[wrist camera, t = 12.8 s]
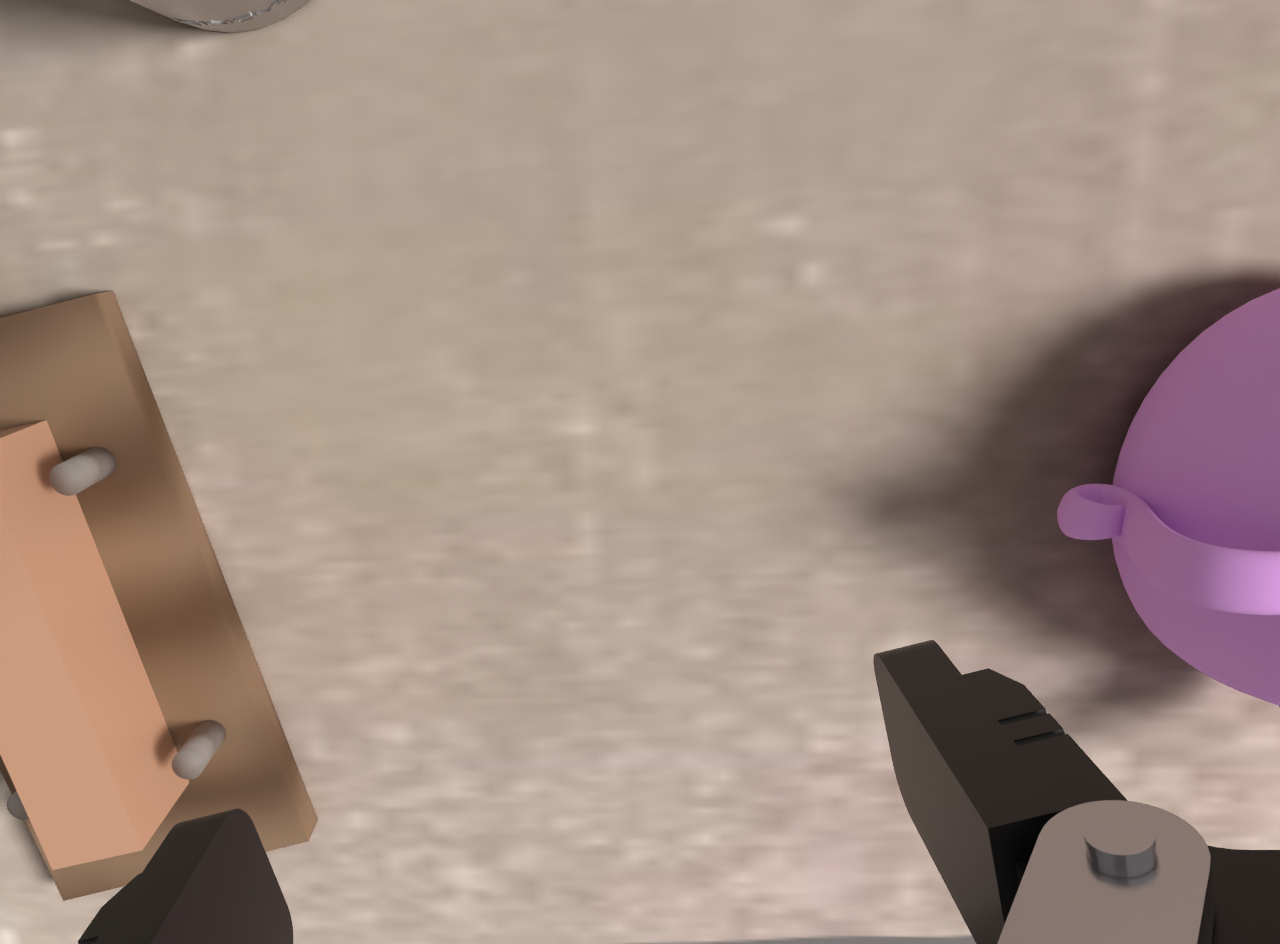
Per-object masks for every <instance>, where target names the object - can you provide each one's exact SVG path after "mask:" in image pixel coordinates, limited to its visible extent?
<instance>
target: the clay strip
mask: <svg viewBox="0 0 1280 944" xmlns="http://www.w3.org/2000/svg"><path fill="white" fill-rule="evenodd" d="M62 462H63V461H62V458H61V456H60V453H59V451H58V448H57V446H56V443H55V441H54V438H53V436H52V433H51V430H50V428H49V425H48V423H47V420H44V421H39V422H35V423H31V424H26V425H22V426H17V427H13V428H9V429H4V430H0V755H1V757H2V759H3V762H4V764H5V766H6V768H7V771H8V773H9V775H10V777H11V779H12V782H13V784H14V786H15V788H16V791H17V793H18V795H19V797H20V799H21V802H22V804H23V806H24V808H25V810H26V813H27V815H28V817H29V819H30V822H31V824H32V826H33V828H34V830H35V833H36V835H37V837H38V839H39V842H40V844H41V846H42V848H43V850H44V853H45V855H46V857H47V859H48V862H49V864H50V866H51V868H52V870H56V869H60V868H65V867H69V866H74V865H78V864H83V863H87V862H92V861H96V860H101V859H105V858H110V857H114V856H119V855H123V854H128V853H133V852H137V851H142V850H143V849H144V847H145V846H146V844H147V843H148V842H149V840H150V839H151V837H152V836H153V834H154V833H155V831H156V830H157V829H158V827H159V826H160V824H161V823H162V821H163V820H164V818H165V817H166V816H167V814H168V813H169V811H170V810H171V808H172V807H173V805H174V804H175V803H176V801H177V800H178V798H179V797H180V795H181V794H182V792H183V791H184V790H185V788H186V787H187V785H188V784H189V780H188V779H183V778H180V777H179V776H177V775H176V774H175V773H174V771H173V769H172V760H173V758H174V757H175V756H176V754H177V753H178V752H177V750H176V747H175V745H174V742H173V740H172V737H171V735H170V732H169V730H168V727H167V724H166V722H165V719H164V717H163V714H162V712H161V709H160V707H159V704H158V702H157V699H156V697H155V694H154V691H153V689H152V686H151V684H150V681H149V679H148V676H147V674H146V671H145V669H144V666H143V664H142V661H141V659H140V656H139V653H138V651H137V648H136V646H135V643H134V641H133V638H132V636H131V633H130V631H129V628H128V626H127V623H126V621H125V618H124V615H123V613H122V610H121V608H120V605H119V603H118V600H117V598H116V595H115V593H114V590H113V588H112V585H111V583H110V580H109V577H108V575H107V572H106V570H105V567H104V565H103V562H102V560H101V557H100V555H99V552H98V550H97V547H96V544H95V542H94V539H93V537H92V534H91V532H90V529H89V527H88V524H87V522H86V519H85V517H84V514H83V512H82V509H81V506H80V504H79V501H78V499H77V496H76V494H75V495H72V496H66V495H62V494H60V493H58V492H57V491H55V490H54V489H53V487H52V486H51V484H50V481H49V474H50V471H51V470H52V468H53V467H55V466H56V465H58V464H60V463H62Z"/></svg>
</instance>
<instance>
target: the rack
mask: <svg viewBox="0 0 1280 944" xmlns="http://www.w3.org/2000/svg"><path fill="white" fill-rule="evenodd" d="M44 420H47V423H48V425H49V428H50V430H51V433H52V436H53V438H54V441H55V443H56V446H57V448H58V451H59V453H60V456H61V458H62V461H63V462H62V463H60V464H58V465H56V466H55V467H53V468H52V470H51V471H50V474H49V481H50V484H51V486H52V487H53V489H54V490H55V491H57V492H58V493H60V494H62V495H66V496H72V495H75V494H76V496H77V499H78V501H79V504H80V506H81V509H82V512H83V514H84V517H85V519H86V522H87V524H88V527H89V529H90V532H91V534H92V537H93V539H94V542H95V544H96V547H97V550H98V552H99V555H100V557H101V560H102V562H103V565H104V567H105V570H106V572H107V575H108V577H109V580H110V583H111V585H112V588H113V590H114V593H115V595H116V598H117V600H118V603H119V605H120V608H121V610H122V613H123V615H124V618H125V621H126V623H127V626H128V628H129V631H130V633H131V636H132V638H133V641H134V643H135V646H136V648H137V651H138V653H139V656H140V659H141V661H142V664H143V666H144V669H145V671H146V674H147V676H148V679H149V681H150V684H151V686H152V689H153V691H154V694H155V697H156V699H157V702H158V704H159V707H160V709H161V712H162V714H163V717H164V719H165V722H166V724H167V727H168V730H169V732H170V735H171V737H172V740H173V742H174V745H175V747H176V750H177V752H178V753H177V754H176V756H175V757H174V758H173V760H172V769H173V771H174V773H175V774H176V775H177V776H179V777H180V778H183V779H188V780H189V784H188V785H187V787H186V788H185V790H184V791H183V792H182V794H181V795H180V797H179V798H178V800H177V801H176V803H175V804H174V805H173V807H172V808H171V810H170V811H169V813H168V814H167V816H166V817H165V818H164V820H163V821H162V823H161V824H160V826H159V827H158V829H157V830H156V831H155V833H154V834H153V836H152V837H151V839H150V840H149V842H148V843H147V844H146V846H145V847H144V849H143V850H142V851H137V852H133V853H128V854H123V855H119V856H114V857H110V858H105V859H101V860H96V861H92V862H87V863H83V864H78V865H74V866H69V867H65V868H60V869H56V870H52V868H51V866H50V864H49V862H48V859H47V857H46V855H45V853H44V850H43V848H42V846H41V844H40V842H39V839H38V837H37V835H36V833H35V830H34V828H33V826H32V824H31V822H30V819H29V817H28V815H27V813H26V810H25V808H24V806H23V804H22V802H21V799H20V797H19V795H18V793H17V791H16V788H15V786H14V784H13V782H12V779H11V777H10V775H9V773H8V771H7V768H6V766H5V764H4V762H3V759H2V757H1V755H0V770H1V772H2V774H3V776H4V778H5V780H6V782H7V784H8V787H9V789H10V791H11V793H12V796H11V797H10V798H9V799H8V801H7V808H8V810H9V812H10V813H11V814H12V815H13V816H14V817H16V818H18V819H22V820H25V822H26V824H27V826H28V828H29V830H30V832H31V834H32V836H33V838H34V840H35V843H36V845H37V847H38V849H39V851H40V853H41V855H42V857H43V859H44V861H45V863H46V865H47V867H48V869H49V872H50V874H51V876H52V878H53V880H54V882H55V884H56V886H57V888H58V890H59V892H60V894H61V896H62V899H63V901H65V900H69V899H73V898H77V897H81V896H85V895H89V894H93V893H97V892H102V891H106V890H110V889H114V888H118V887H122V886H126V885H127V884H128V883H129V882H130V881H131V880H132V879H133V878H135V877H136V876H137V875H138V874H140V873H142V872H143V870H144V869H145V867H146V866H147V864H148V863H149V861H150V860H151V858H152V857H153V855H154V854H155V852H156V851H157V850H158V848H159V847H160V845H161V844H162V842H163V841H164V839H165V838H166V836H167V835H168V833H169V832H170V830H171V829H172V828H173V826H175V825H176V824H177V823H180V822H183V821H188V820H192V819H196V818H200V817H204V816H208V815H212V814H216V813H220V812H224V811H228V810H233V809H241V810H243V811H245V812H246V813H247V814H248V815H249V816H250V818H251V819H252V821H253V823H254V825H255V828H256V830H257V833H258V835H259V837H260V840H261V842H262V845H263V847H264V850H265V852H266V851H270V850H274V849H278V848H282V847H286V846H290V845H295V844H299V843H303V842H307V841H309V839H310V836H311V834H312V832H313V830H314V827H315V825H316V823H317V821H318V819H317V817H316V814H315V812H314V809H313V806H312V804H311V801H310V799H309V796H308V794H307V791H306V788H305V786H304V783H303V781H302V778H301V775H300V773H299V770H298V768H297V765H296V763H295V760H294V757H293V755H292V752H291V750H290V747H289V745H288V742H287V739H286V737H285V734H284V732H283V729H282V726H281V724H280V721H279V719H278V716H277V714H276V711H275V708H274V706H273V703H272V701H271V698H270V695H269V693H268V690H267V688H266V685H265V683H264V680H263V677H262V675H261V672H260V670H259V667H258V664H257V662H256V659H255V657H254V654H253V652H252V649H251V646H250V644H249V641H248V639H247V636H246V634H245V631H244V628H243V626H242V623H241V621H240V618H239V615H238V613H237V610H236V608H235V605H234V603H233V600H232V597H231V595H230V592H229V590H228V587H227V584H226V582H225V579H224V577H223V574H222V572H221V569H220V566H219V564H218V561H217V559H216V556H215V553H214V551H213V548H212V546H211V543H210V541H209V538H208V535H207V533H206V530H205V528H204V525H203V523H202V520H201V517H200V515H199V512H198V510H197V507H196V504H195V502H194V499H193V497H192V494H191V492H190V489H189V486H188V484H187V481H186V479H185V476H184V473H183V471H182V468H181V466H180V463H179V461H178V458H177V455H176V453H175V450H174V448H173V445H172V443H171V440H170V437H169V435H168V432H167V430H166V427H165V424H164V422H163V419H162V417H161V414H160V412H159V409H158V406H157V404H156V401H155V399H154V396H153V393H152V391H151V388H150V386H149V383H148V381H147V378H146V375H145V373H144V370H143V368H142V365H141V362H140V360H139V357H138V355H137V352H136V350H135V347H134V344H133V342H132V339H131V337H130V334H129V332H128V329H127V326H126V324H125V321H124V319H123V316H122V313H121V311H120V308H119V306H118V303H117V301H116V298H115V295H114V293H113V291H108V292H102V293H97V294H92V295H88V296H84V297H80V298H76V299H73V300H69V301H65V302H61V303H57V304H53V305H49V306H45V307H41V308H37V309H33V310H29V311H26V312H22V313H18V314H14V315H10V316H6V317H2V318H0V430H4V429H9V428H13V427H17V426H22V425H26V424H31V423H35V422H39V421H44Z"/></svg>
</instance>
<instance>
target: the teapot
mask: <svg viewBox="0 0 1280 944" xmlns="http://www.w3.org/2000/svg"><path fill="white" fill-rule="evenodd" d="M1057 519H1058V523H1059V526H1060V529H1061V531H1062V532H1063V533H1064V534H1065V535H1066V536H1068V537H1071V538H1074V539H1080V540H1101V539H1109V538H1112V543H1113V550H1114V556H1115V560H1116V563H1117V566H1118V570H1119V573H1120V576H1121V579H1122V582H1123V585H1124V587H1125V590H1126V592H1127V594H1128V596H1129V598H1130V600H1131V602H1132V604H1133V606H1134V608H1135V610H1136V611H1137V613H1138V614H1139V616H1140V617H1141V619H1142V620H1143V621H1144V623H1145V624H1146V626H1147V627H1148V629H1149V630H1150V631H1151V632H1152V633H1153V634H1154V635H1155V636H1156V637H1157V638H1158V639H1159V640H1160V641H1161V642H1162V643H1163V644H1164V645H1165V646H1166V647H1167V648H1168V649H1170V650H1171V651H1172V652H1174V653H1175V654H1176V655H1177V656H1179V657H1180V658H1181V659H1183V660H1184V661H1186V662H1187V663H1188V664H1190V665H1191V666H1193V667H1194V668H1196V669H1197V670H1199V671H1200V672H1202V673H1204V674H1206V675H1208V676H1209V677H1211V678H1213V679H1215V680H1217V681H1219V682H1220V683H1223V684H1225V685H1227V686H1229V687H1231V688H1234V689H1236V690H1238V691H1240V692H1243V693H1246V694H1248V695H1251V696H1254V697H1256V698H1259V699H1262V700H1265V701H1267V702H1270V703H1273V704H1276V705H1279V707H1280V288H1279V289H1277V290H1274V291H1272V292H1269V293H1267V294H1265V295H1262V296H1260V297H1258V298H1255V299H1253V300H1251V301H1249V302H1248V303H1246V304H1244V305H1242V306H1241V307H1239V308H1237V309H1235V310H1234V311H1232V312H1230V313H1228V314H1227V315H1225V316H1224V317H1222V318H1221V319H1220V320H1218V321H1217V322H1216V323H1214V324H1213V325H1211V326H1210V327H1209V328H1207V329H1206V330H1205V331H1203V332H1202V333H1201V334H1200V335H1199V336H1198V337H1196V338H1195V339H1194V340H1193V341H1192V342H1191V343H1190V344H1189V345H1188V346H1187V347H1186V348H1185V349H1183V350H1182V351H1181V352H1180V353H1179V354H1178V356H1177V357H1176V358H1175V359H1174V360H1173V361H1172V362H1171V364H1170V365H1169V366H1168V367H1167V368H1166V369H1165V371H1164V372H1163V373H1162V374H1161V375H1160V377H1159V378H1158V380H1157V381H1156V382H1155V384H1154V385H1153V387H1152V388H1151V390H1150V391H1149V393H1148V394H1147V396H1146V397H1145V398H1144V400H1143V402H1142V404H1141V406H1140V408H1139V410H1138V411H1137V413H1136V415H1135V417H1134V419H1133V421H1132V423H1131V425H1130V427H1129V430H1128V433H1127V435H1126V438H1125V440H1124V443H1123V445H1122V448H1121V451H1120V455H1119V459H1118V463H1117V467H1116V471H1115V475H1114V479H1113V485H1109V484H1085V485H1080V486H1077V487H1074V488H1072V489H1070V490H1069V491H1068V492H1066V493H1065V495H1064V496H1063V498H1062V500H1061V502H1060V505H1059V507H1058V510H1057Z"/></svg>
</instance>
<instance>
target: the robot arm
mask: <svg viewBox="0 0 1280 944" xmlns="http://www.w3.org/2000/svg"><path fill="white" fill-rule="evenodd" d="M129 1H131V2H134V3H136V4H138V5H141V6H143V7H145V8H148V9H150V10H152V11H154V12H157V13H159V14H161V15H164V16H166V17H168V18H170V19H173V20H175V21H177V22H180V23H184V24H187V25H190V26H193V27H196V28H200V29H203V30H209V31H220V32H232V33H234V32H241V31H248V30H255V29H261V28H263V27H266V26H268V25H271V24H274V23H276V22H279V21H281V20H284V19H286V18H287V17H289V16H290V15H291V14H293V13H294V12H296V11H297V10H299V9H300V8H301V7H303V6H304V5H306V4H307V3H308V2H309V1H310V0H129ZM874 669H875V675H876V680H877V685H878V691H879V696H880V701H881V706H882V711H883V716H884V721H885V726H886V731H887V736H888V741H889V746H890V751H891V756H892V761H893V766H894V770H895V774H896V778H897V781H898V785H899V788H900V791H901V794H902V797H903V800H904V802H905V805H906V808H907V810H908V812H909V814H910V817H911V819H912V821H913V822H914V824H915V826H916V828H917V830H918V832H919V834H920V836H921V838H922V840H923V842H924V844H925V846H926V847H927V849H928V851H929V853H930V855H931V857H932V859H933V861H934V863H935V865H936V867H937V869H938V871H939V872H940V874H941V876H942V878H943V880H944V882H945V884H946V886H947V888H948V890H949V892H950V894H951V896H952V898H953V899H954V901H955V903H956V905H957V907H958V909H959V911H960V913H961V915H962V917H963V919H964V921H965V923H966V924H967V926H968V928H969V930H970V932H971V934H972V936H973V938H974V940H975V942H976V943H977V944H1280V850H1233V849H1225V848H1217V847H1212V846H1207V844H1206V842H1205V841H1204V839H1203V837H1202V836H1201V835H1200V834H1199V833H1198V832H1197V830H1196V829H1195V828H1193V827H1192V826H1191V825H1190V824H1188V823H1187V822H1186V821H1185V820H1183V819H1181V818H1179V817H1178V816H1176V815H1174V814H1172V813H1170V812H1168V811H1165V810H1163V809H1161V808H1157V807H1154V806H1151V805H1148V804H1143V803H1138V802H1132V801H1127V799H1126V798H1125V797H1124V796H1123V795H1122V794H1121V793H1120V792H1119V791H1118V789H1117V788H1116V787H1115V786H1114V785H1113V784H1112V783H1111V782H1110V780H1109V779H1108V778H1107V777H1106V776H1105V775H1104V774H1103V773H1102V772H1101V770H1100V769H1099V768H1098V767H1097V766H1096V765H1095V764H1094V763H1093V762H1092V760H1091V759H1090V758H1089V757H1088V756H1087V755H1086V754H1085V753H1084V751H1083V750H1082V749H1081V748H1080V747H1079V746H1078V745H1077V744H1076V743H1075V741H1074V740H1073V739H1072V738H1071V737H1070V736H1069V735H1068V734H1065V733H1064V731H1063V728H1062V727H1061V726H1060V725H1059V724H1058V722H1057V721H1056V720H1055V719H1054V718H1053V717H1052V716H1051V715H1050V714H1047V713H1046V710H1045V708H1044V707H1043V706H1042V705H1041V703H1040V702H1039V701H1038V700H1037V699H1036V698H1035V697H1034V696H1033V695H1032V693H1031V692H1030V691H1029V690H1028V689H1027V688H1026V687H1025V686H1024V685H1023V684H1021V683H1019V682H1017V681H1014V680H1012V679H1010V678H1008V677H1006V676H1004V675H1001V674H999V673H997V672H995V671H993V670H991V669H984V670H980V671H976V672H972V673H968V674H964V675H961V673H960V672H959V671H958V670H957V668H956V667H955V666H954V664H953V663H952V662H951V661H950V659H949V658H948V657H947V655H946V654H945V653H944V652H943V650H942V649H941V648H940V647H939V645H938V644H937V643H936V642H935V641H934V640H930V641H926V642H922V643H918V644H914V645H910V646H906V647H902V648H897V649H893V650H889V651H885V652H881V653H877V654H875V655H874ZM78 943H79V944H293V927H292V920H291V916H290V912H289V909H288V906H287V904H286V901H285V899H284V896H283V894H282V891H281V889H280V886H279V884H278V882H277V879H276V877H275V874H274V872H273V869H272V867H271V864H270V862H269V859H268V857H267V855H266V852H265V850H264V847H263V845H262V842H261V840H260V837H259V835H258V833H257V830H256V828H255V825H254V823H253V821H252V819H251V818H250V816H249V815H248V814H247V813H246V812H245V811H243V810H241V809H233V810H228V811H224V812H220V813H216V814H212V815H208V816H204V817H200V818H196V819H192V820H188V821H183V822H180V823H177V824H176V825H175V826H173V828H172V829H171V830H170V832H169V833H168V835H167V836H166V838H165V839H164V841H163V842H162V844H161V845H160V847H159V848H158V850H157V851H156V852H155V854H154V855H153V857H152V858H151V860H150V861H149V863H148V864H147V866H146V867H145V869H144V870H143V872H142V873H140V874H138V875H137V876H136V877H135V878H133V879H132V880H131V881H130V882H129V883H128V884H127V885H126V886H125V887H123V888H122V889H121V890H120V891H119V892H118V893H117V894H116V895H115V896H114V897H112V898H111V899H110V900H109V901H108V902H107V903H106V904H105V905H104V906H103V907H102V908H101V909H100V910H99V912H98V913H97V915H96V916H95V918H94V919H93V920H92V922H91V923H90V925H89V926H88V928H87V929H86V931H85V932H84V933H83V935H82V936H81V938H80V939H79V941H78Z"/></svg>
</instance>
